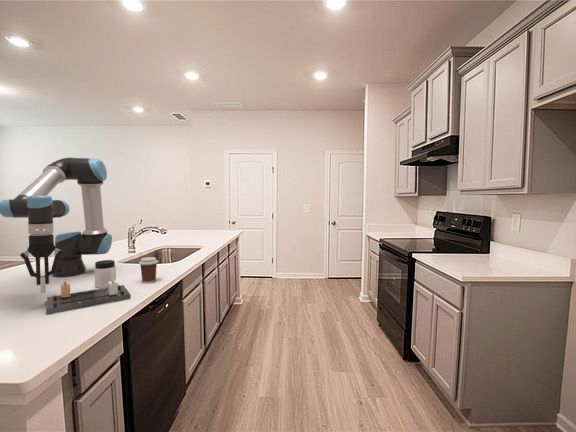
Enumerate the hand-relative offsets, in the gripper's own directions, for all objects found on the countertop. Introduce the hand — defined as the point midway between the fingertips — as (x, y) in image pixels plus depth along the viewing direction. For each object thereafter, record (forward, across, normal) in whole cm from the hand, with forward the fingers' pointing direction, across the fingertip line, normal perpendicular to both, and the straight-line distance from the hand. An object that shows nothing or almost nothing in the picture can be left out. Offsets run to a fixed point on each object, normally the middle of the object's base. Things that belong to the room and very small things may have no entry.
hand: (43, 292), depth 115 cm
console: (+6, +15, -4) cm, 17 cm away
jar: (+6, +23, +15) cm, 28 cm away
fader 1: (+3, +7, 0) cm, 8 cm away
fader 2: (+3, +23, -8) cm, 25 cm away
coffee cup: (+6, +42, +11) cm, 44 cm away
